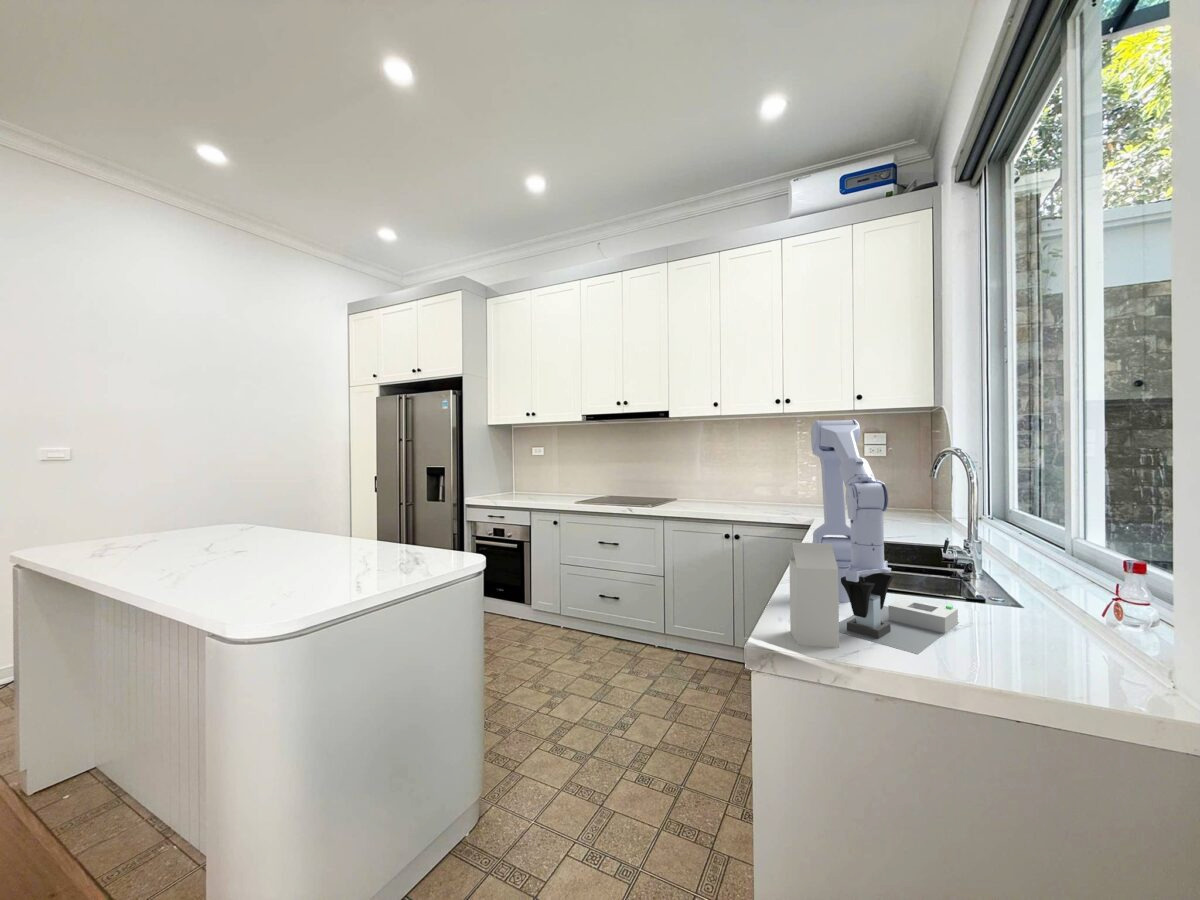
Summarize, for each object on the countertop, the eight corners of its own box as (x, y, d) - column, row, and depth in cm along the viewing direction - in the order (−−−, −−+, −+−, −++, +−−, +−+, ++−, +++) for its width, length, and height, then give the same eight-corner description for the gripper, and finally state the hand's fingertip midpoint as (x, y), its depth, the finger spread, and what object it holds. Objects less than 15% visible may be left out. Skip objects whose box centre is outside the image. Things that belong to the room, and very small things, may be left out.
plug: (856, 630, 94) (855, 595, 94) (863, 626, 96) (862, 592, 96) (873, 635, 91) (873, 599, 91) (880, 631, 93) (880, 595, 93)
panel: (826, 632, 95) (825, 611, 95) (875, 607, 110) (875, 588, 110) (917, 658, 82) (917, 634, 82) (959, 626, 97) (959, 605, 97)
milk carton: (839, 652, 86) (837, 547, 86) (797, 649, 87) (796, 546, 87) (828, 637, 92) (827, 540, 93) (790, 634, 94) (788, 539, 94)
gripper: (873, 550, 86) (875, 625, 86) (903, 541, 95) (905, 609, 95) (834, 545, 91) (835, 616, 91) (866, 537, 100) (867, 601, 100)
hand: (868, 612), depth 93 cm, fingers open, 7 cm apart
